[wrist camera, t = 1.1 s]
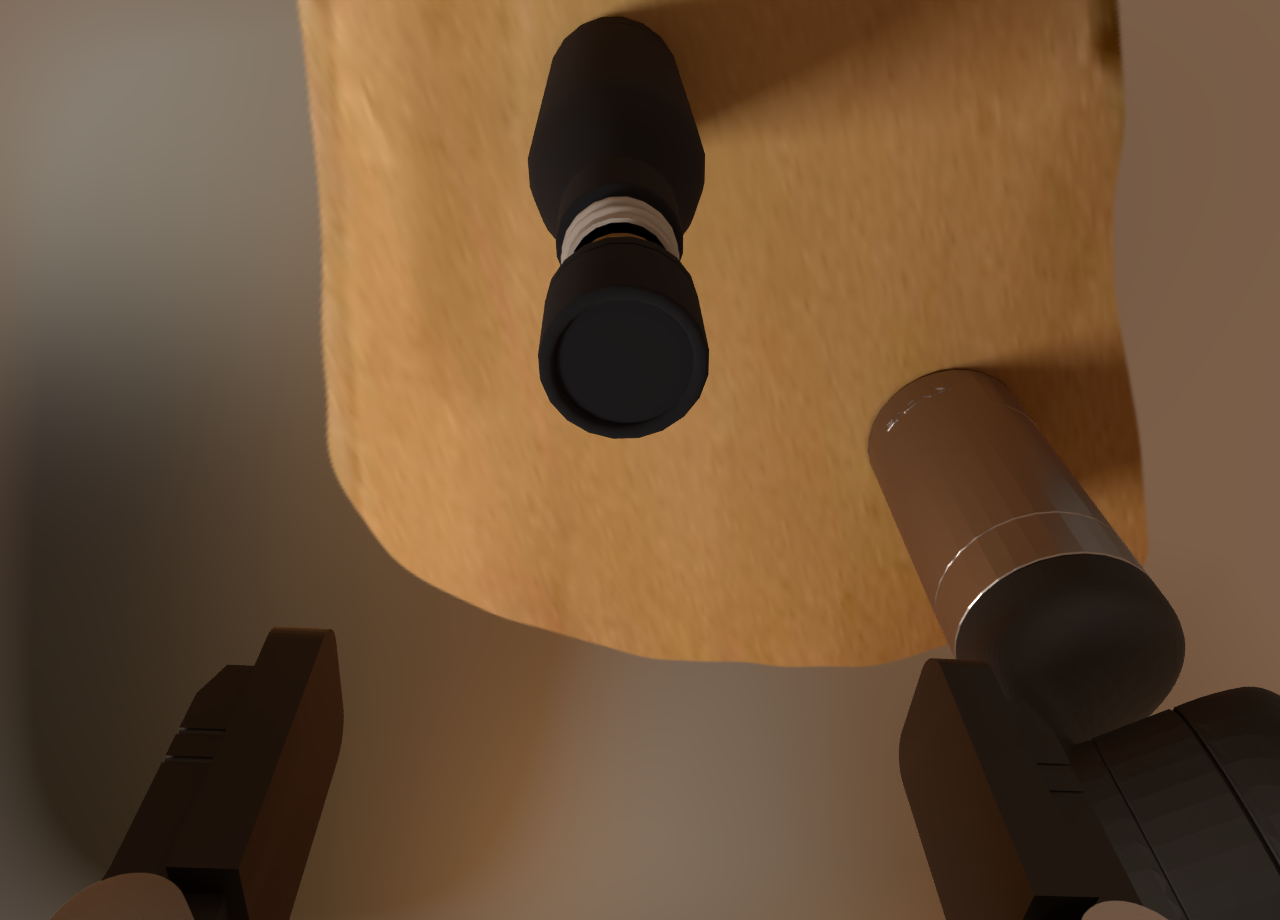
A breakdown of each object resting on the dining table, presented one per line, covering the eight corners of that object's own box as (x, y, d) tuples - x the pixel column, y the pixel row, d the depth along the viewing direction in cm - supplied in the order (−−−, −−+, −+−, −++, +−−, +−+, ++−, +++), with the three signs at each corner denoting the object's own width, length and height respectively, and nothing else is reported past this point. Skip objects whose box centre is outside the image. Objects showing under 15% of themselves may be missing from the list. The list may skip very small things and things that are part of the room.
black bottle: (580, -10, 45) (548, 175, 19) (702, 55, 46) (821, 304, 21) (527, 119, 48) (438, 427, 22) (643, 175, 49) (685, 522, 24)
